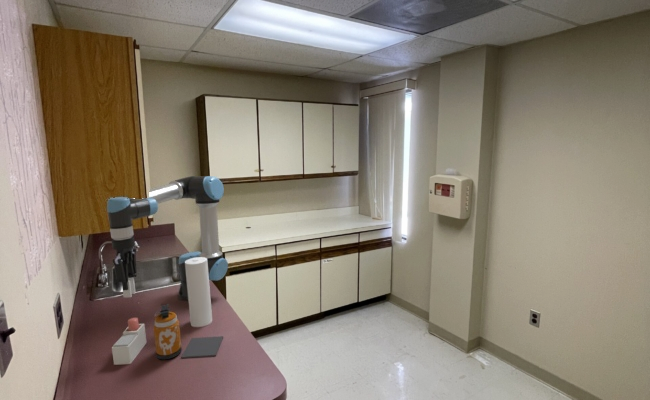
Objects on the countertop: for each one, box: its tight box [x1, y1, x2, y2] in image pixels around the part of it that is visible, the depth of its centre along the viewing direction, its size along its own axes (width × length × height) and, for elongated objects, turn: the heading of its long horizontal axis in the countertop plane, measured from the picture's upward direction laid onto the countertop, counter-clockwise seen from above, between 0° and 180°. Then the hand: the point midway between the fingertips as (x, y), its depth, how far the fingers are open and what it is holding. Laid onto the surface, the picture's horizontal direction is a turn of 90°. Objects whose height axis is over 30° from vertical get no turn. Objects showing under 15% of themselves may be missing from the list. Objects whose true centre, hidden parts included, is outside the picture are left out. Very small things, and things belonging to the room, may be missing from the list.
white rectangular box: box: [111, 323, 147, 366], centre depth 136 cm, size 14×6×8 cm, turn 4°
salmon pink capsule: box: [127, 317, 140, 331], centre depth 139 cm, size 4×4×8 cm
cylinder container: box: [185, 257, 213, 328], centre depth 157 cm, size 9×9×30 cm
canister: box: [153, 303, 183, 360], centre depth 135 cm, size 9×11×20 cm
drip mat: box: [180, 335, 224, 359], centre depth 139 cm, size 13×13×1 cm
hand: (129, 295), depth 137 cm, fingers open, 3 cm apart
